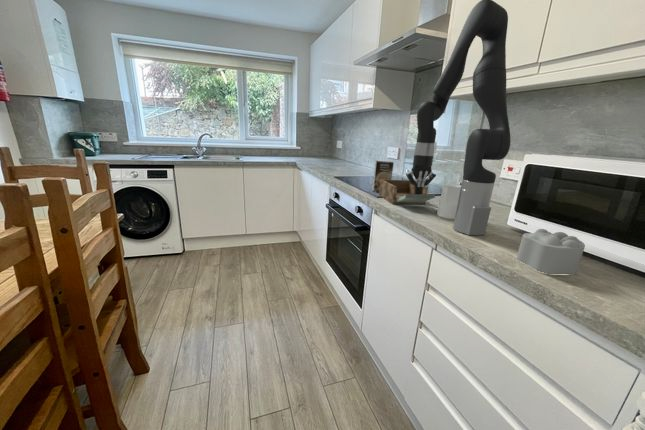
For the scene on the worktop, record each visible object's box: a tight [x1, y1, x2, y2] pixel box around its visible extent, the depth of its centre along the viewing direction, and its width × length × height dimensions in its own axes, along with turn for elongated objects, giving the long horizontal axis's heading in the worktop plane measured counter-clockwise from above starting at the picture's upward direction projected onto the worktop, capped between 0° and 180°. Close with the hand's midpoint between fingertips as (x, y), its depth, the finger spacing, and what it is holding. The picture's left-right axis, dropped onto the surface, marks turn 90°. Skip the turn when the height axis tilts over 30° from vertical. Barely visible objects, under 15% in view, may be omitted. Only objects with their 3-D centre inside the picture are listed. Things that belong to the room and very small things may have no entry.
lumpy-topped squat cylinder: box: [516, 228, 586, 275], centre depth 70 cm, size 10×13×9 cm
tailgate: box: [397, 193, 436, 202], centre depth 120 cm, size 1×13×9 cm
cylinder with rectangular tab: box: [436, 185, 461, 220], centre depth 109 cm, size 9×9×12 cm
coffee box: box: [371, 160, 394, 193], centre depth 149 cm, size 9×6×16 cm
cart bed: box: [378, 179, 429, 205], centre depth 133 cm, size 18×16×8 cm
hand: (417, 195), depth 118 cm, fingers closed
